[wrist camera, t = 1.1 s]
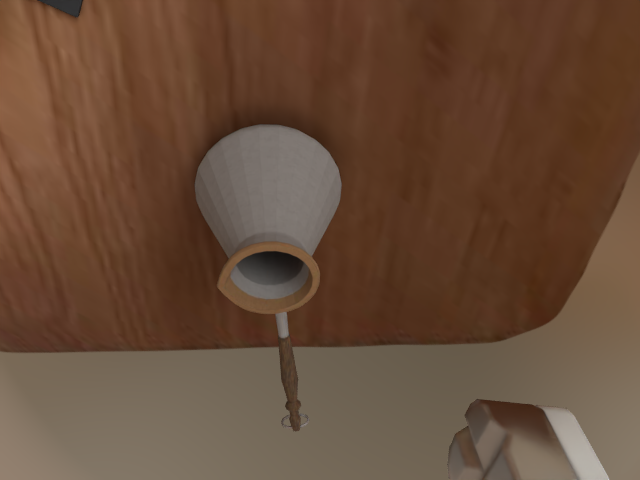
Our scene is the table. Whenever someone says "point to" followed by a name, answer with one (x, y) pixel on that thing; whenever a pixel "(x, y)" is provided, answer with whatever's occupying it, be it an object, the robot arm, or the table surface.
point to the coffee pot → (270, 224)
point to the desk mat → (66, 5)
